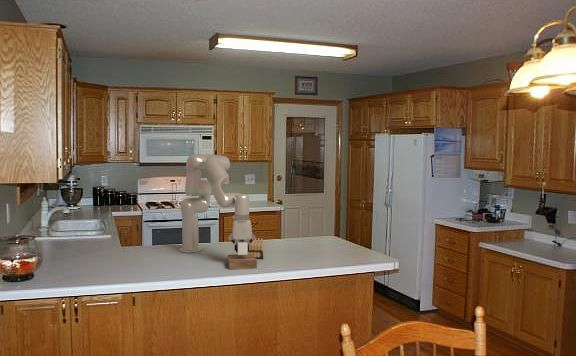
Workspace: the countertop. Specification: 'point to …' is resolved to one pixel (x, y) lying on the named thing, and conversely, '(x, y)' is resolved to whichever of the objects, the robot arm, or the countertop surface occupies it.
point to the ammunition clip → (256, 249)
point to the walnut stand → (242, 261)
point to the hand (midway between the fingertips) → (242, 251)
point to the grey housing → (242, 247)
